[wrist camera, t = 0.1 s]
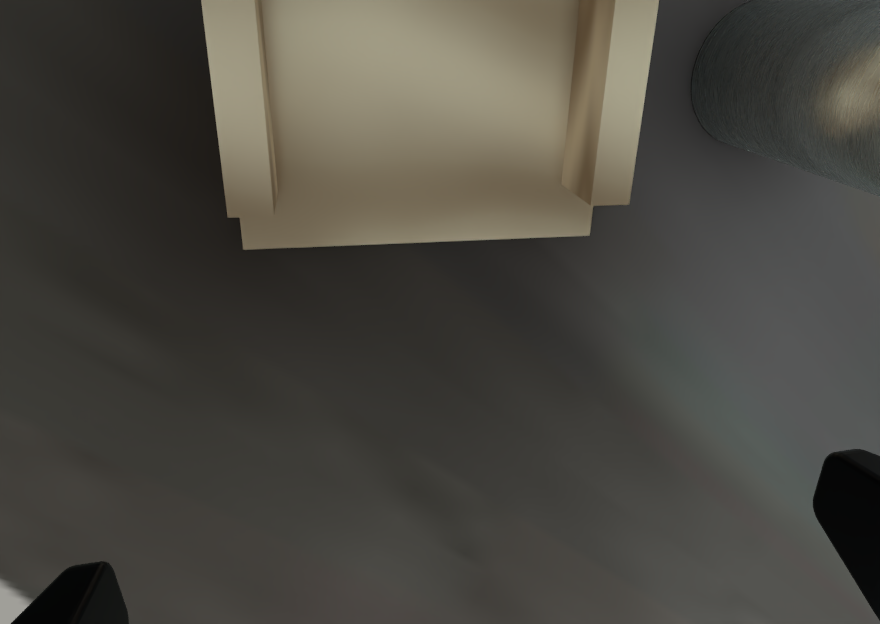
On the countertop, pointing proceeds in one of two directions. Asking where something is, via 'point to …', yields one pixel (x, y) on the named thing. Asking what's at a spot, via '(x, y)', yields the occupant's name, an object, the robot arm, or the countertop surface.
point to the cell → (797, 85)
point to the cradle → (425, 116)
